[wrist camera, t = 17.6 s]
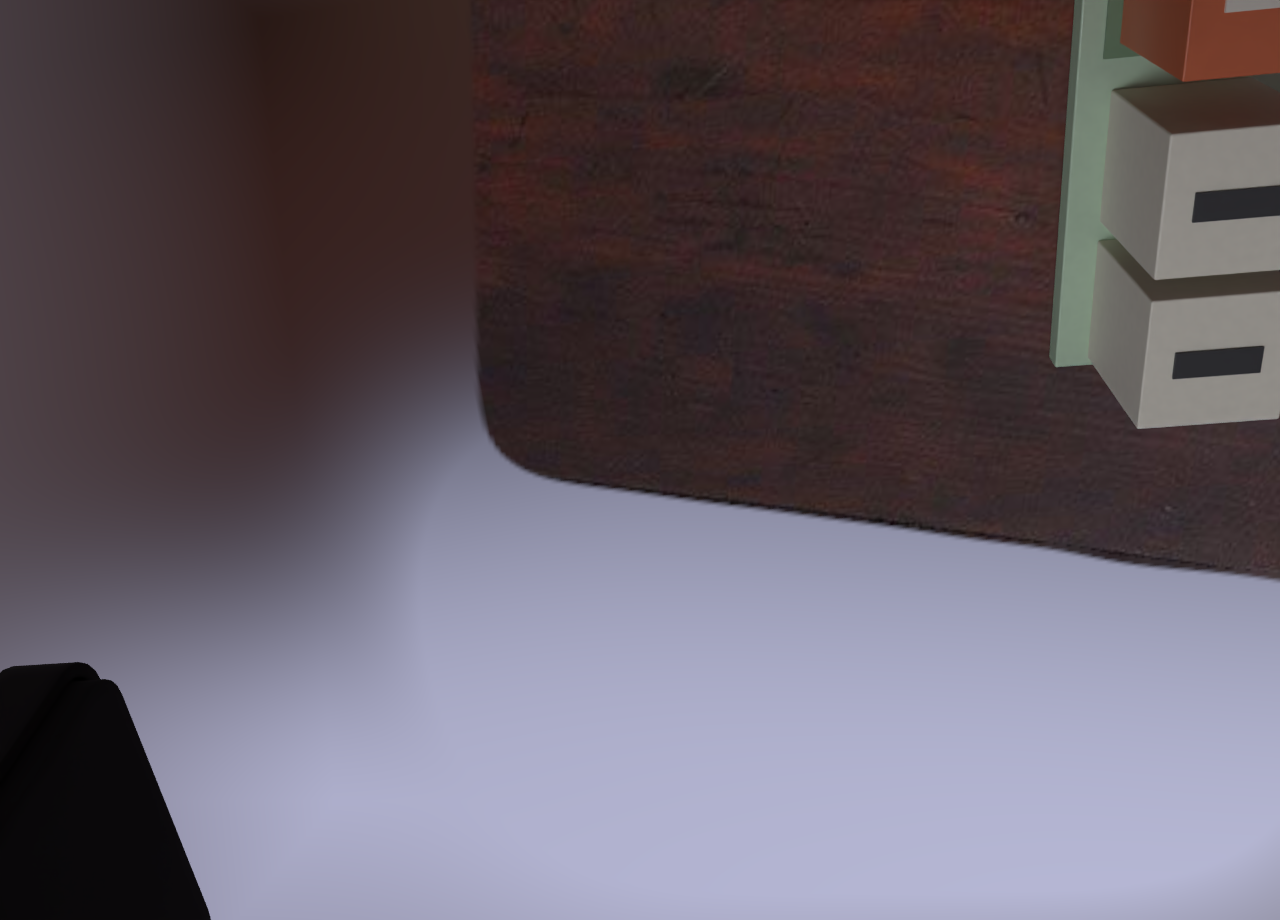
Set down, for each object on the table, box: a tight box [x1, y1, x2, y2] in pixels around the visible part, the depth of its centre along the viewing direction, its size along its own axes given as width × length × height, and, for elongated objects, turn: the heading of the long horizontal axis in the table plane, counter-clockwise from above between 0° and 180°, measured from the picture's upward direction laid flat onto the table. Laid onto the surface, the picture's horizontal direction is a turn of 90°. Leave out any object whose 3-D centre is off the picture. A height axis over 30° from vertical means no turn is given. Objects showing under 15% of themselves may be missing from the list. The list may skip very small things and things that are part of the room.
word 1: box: [1049, 0, 1280, 429], centre depth 34 cm, size 6×15×6 cm, turn 6°
